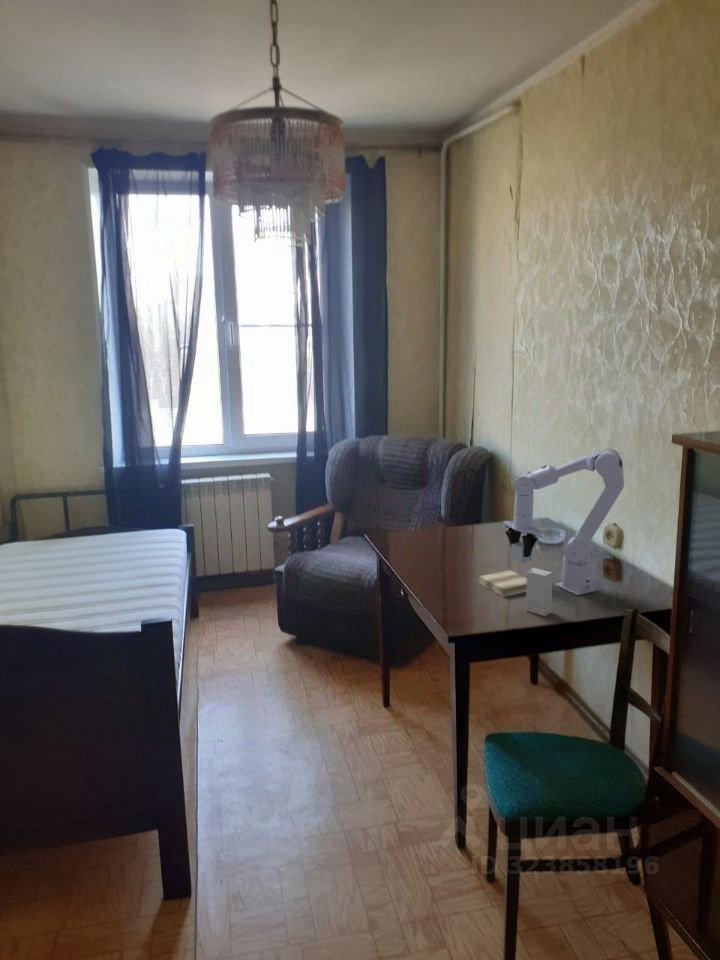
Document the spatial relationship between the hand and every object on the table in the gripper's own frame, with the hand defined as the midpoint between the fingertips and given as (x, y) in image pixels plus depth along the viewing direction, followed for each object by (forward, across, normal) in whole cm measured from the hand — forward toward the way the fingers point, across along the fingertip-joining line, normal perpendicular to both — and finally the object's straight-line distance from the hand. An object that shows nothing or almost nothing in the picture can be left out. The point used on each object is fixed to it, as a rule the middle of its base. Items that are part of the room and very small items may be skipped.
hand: (521, 554), depth 219 cm
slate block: (+2, 0, 0) cm, 2 cm away
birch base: (+8, -2, +8) cm, 12 cm away
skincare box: (+9, -20, +15) cm, 26 cm away
